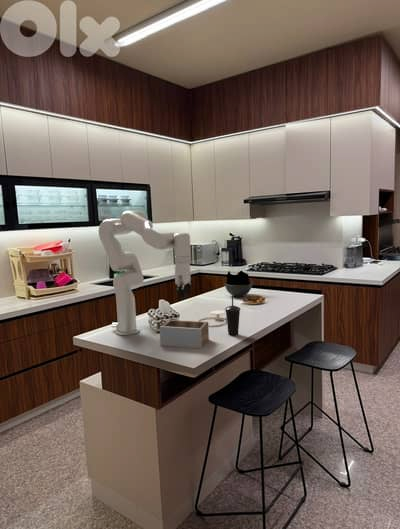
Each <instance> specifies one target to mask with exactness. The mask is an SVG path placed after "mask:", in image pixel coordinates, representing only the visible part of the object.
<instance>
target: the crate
mask: <svg viewBox="0 0 400 529" xmlns="http://www.w3.org/2000/svg"><path fill="white" fill-rule="evenodd" d="M208 325H209V322H208V321H197V320H180V319H179V320H178V319H176V320H175V319H169V320H167V321H166V322H165V323H163V324H162V325H161V326H169V327H185V328H201V331H202V348H203V347H204V346H205V344H207V343H208V341H209V340H210V336H209V332H210V331H209V327H208Z"/></svg>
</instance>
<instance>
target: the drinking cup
mask: <svg viewBox="0 0 400 529" xmlns="http://www.w3.org/2000/svg"><path fill="white" fill-rule="evenodd" d="M224 311H225V317H226V323H227V324H226V326H227V332H228V336H229V335H230V336H229V337H237V336H236V335H238V336H239V327H240V312H241V307H239V306H237V305H234V296H233V295H231V305H229V306H227V307H225V308H224Z"/></svg>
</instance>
